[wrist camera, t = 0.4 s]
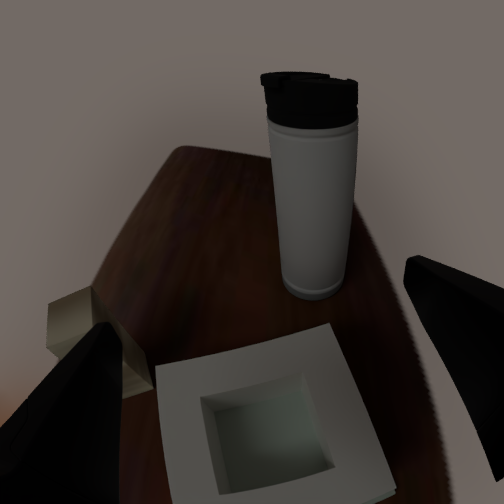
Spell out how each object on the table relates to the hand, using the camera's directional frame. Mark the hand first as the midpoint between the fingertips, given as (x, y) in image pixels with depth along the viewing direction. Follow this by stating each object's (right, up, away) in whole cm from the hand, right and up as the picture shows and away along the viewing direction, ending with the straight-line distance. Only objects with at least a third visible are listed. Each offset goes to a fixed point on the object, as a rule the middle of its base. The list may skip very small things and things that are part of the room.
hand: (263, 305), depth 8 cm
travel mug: (+6, -1, +22) cm, 23 cm away
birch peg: (-11, -10, +16) cm, 22 cm away
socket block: (+1, -13, +11) cm, 17 cm away
